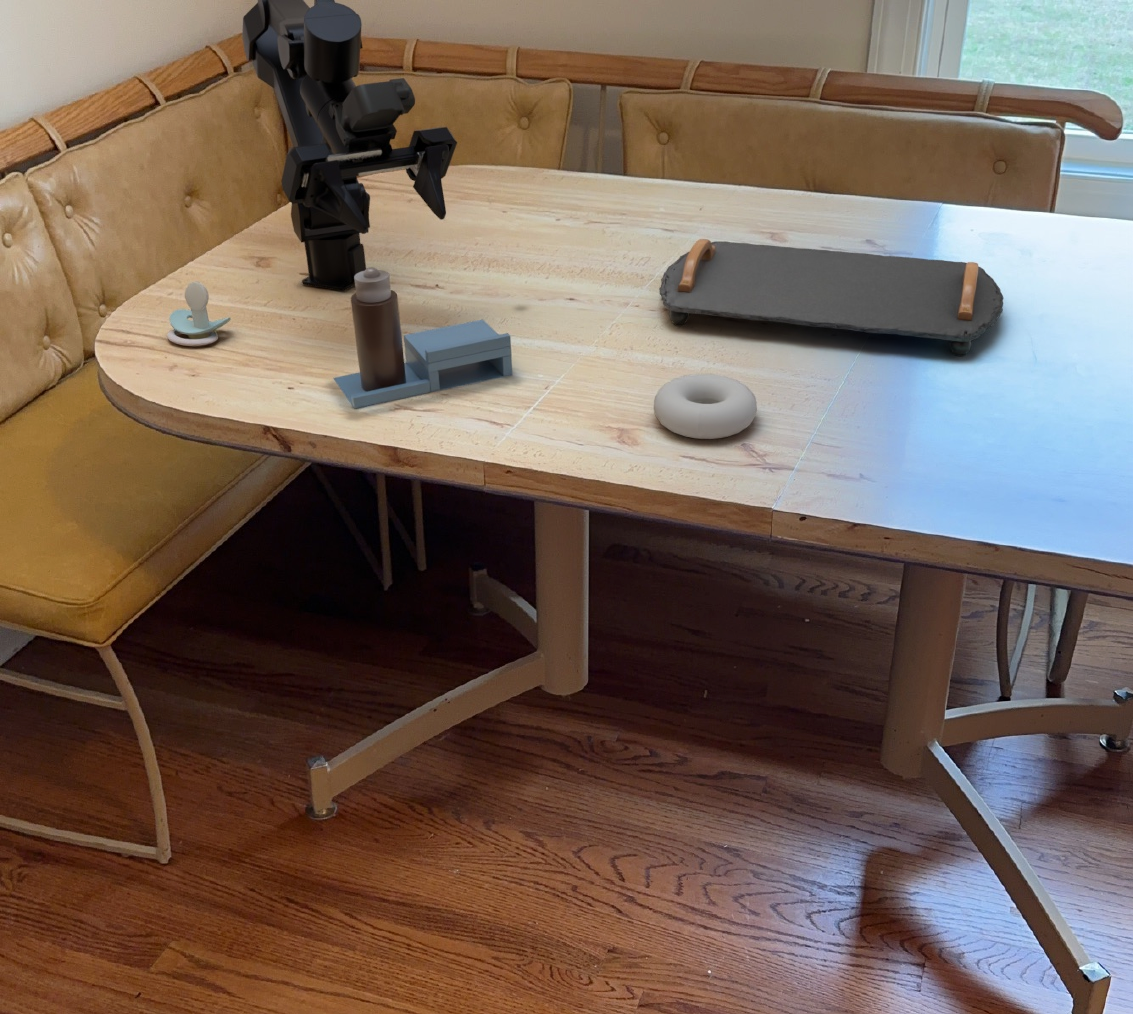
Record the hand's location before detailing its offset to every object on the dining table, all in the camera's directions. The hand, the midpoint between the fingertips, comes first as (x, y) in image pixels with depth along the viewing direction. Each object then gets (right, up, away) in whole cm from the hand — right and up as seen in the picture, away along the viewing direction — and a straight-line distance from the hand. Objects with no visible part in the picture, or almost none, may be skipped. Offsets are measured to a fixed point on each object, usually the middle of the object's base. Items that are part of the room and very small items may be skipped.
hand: (405, 223), depth 125 cm
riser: (+2, -16, +1) cm, 16 cm away
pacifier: (-25, -10, +13) cm, 30 cm away
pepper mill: (-2, -17, -1) cm, 17 cm away
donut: (+30, -21, -7) cm, 38 cm away
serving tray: (+47, -6, +16) cm, 50 cm away
